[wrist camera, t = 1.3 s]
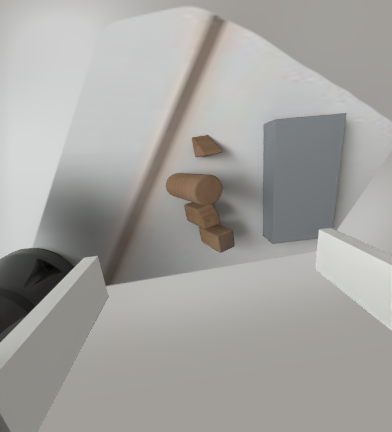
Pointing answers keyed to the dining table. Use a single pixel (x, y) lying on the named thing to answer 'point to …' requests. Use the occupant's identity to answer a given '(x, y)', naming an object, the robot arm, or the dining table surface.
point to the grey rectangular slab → (301, 176)
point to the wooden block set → (202, 198)
